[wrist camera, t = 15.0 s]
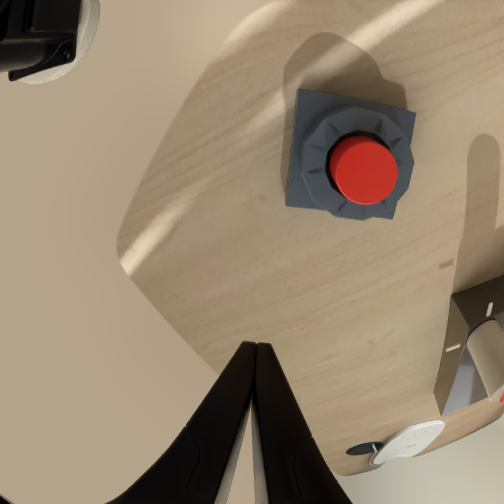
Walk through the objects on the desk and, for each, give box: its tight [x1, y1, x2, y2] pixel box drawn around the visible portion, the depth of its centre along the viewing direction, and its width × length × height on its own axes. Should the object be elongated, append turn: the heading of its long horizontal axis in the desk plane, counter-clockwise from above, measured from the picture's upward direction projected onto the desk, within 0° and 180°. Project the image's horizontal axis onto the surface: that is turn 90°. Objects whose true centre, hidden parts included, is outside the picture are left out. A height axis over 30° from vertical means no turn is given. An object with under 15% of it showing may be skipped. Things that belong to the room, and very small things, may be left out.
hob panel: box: [434, 275, 504, 417], centre depth 22 cm, size 20×17×4 cm
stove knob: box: [466, 320, 504, 403], centre depth 16 cm, size 4×4×6 cm
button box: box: [285, 89, 416, 220], centre depth 15 cm, size 7×7×3 cm
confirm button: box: [330, 136, 398, 205], centre depth 14 cm, size 3×3×2 cm
